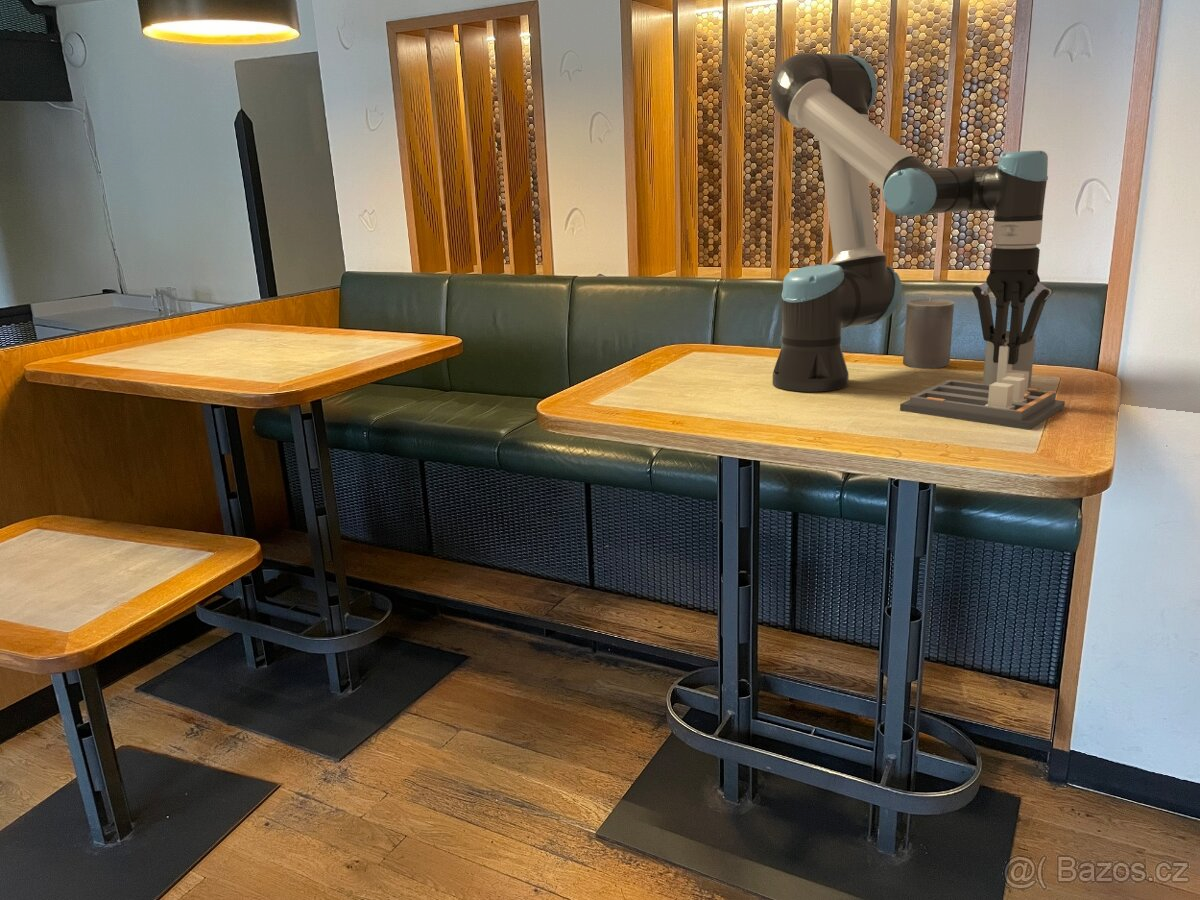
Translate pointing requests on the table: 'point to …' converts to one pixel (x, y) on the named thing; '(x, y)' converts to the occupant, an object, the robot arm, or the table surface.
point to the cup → (1022, 365)
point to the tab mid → (1016, 387)
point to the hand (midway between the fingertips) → (1003, 381)
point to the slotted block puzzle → (982, 405)
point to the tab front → (1001, 395)
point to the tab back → (1021, 375)
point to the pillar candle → (928, 333)
